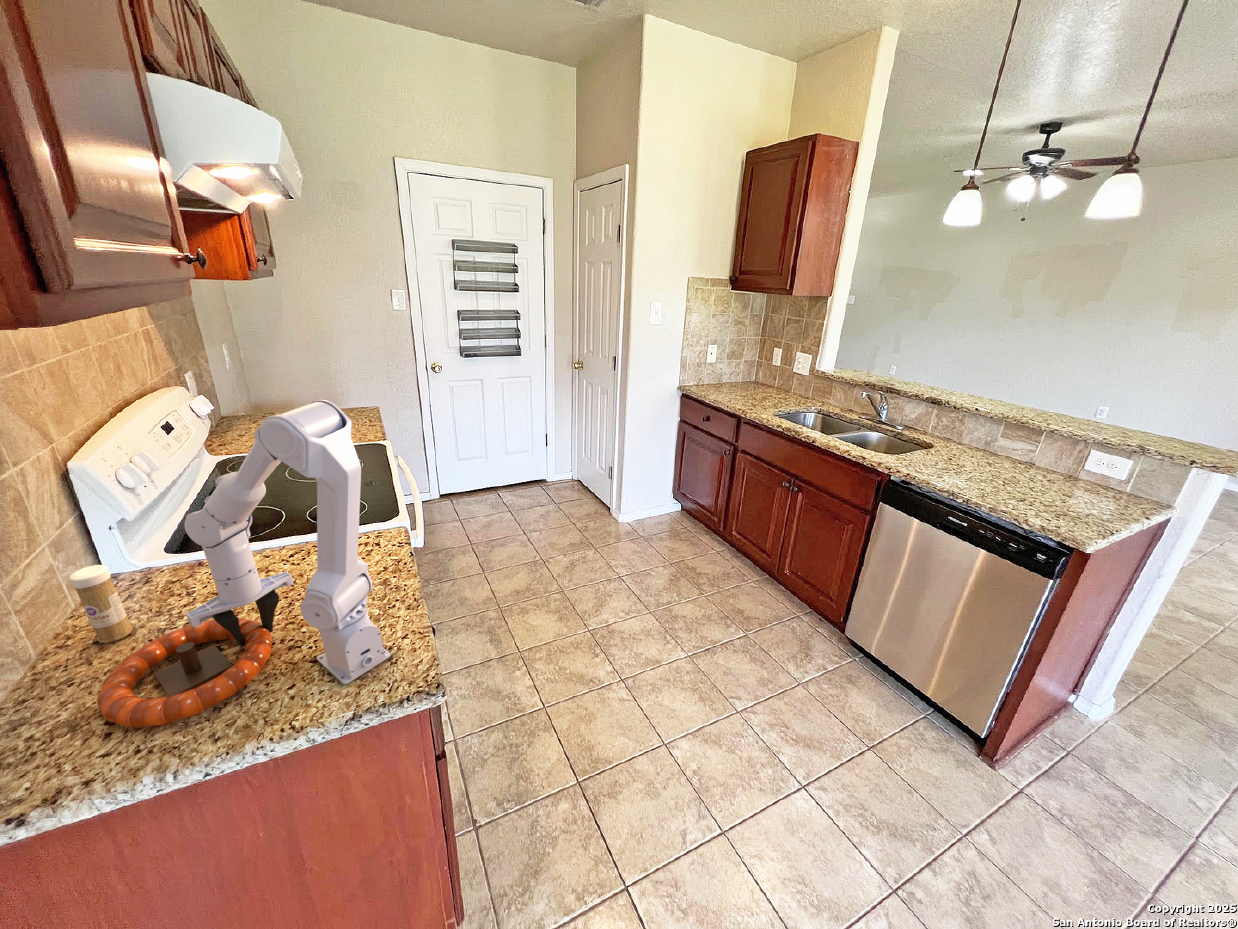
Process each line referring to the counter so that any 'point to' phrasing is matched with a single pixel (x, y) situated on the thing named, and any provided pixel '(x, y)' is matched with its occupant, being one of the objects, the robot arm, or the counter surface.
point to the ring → (149, 712)
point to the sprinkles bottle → (101, 603)
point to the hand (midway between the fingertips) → (255, 636)
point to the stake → (192, 669)
